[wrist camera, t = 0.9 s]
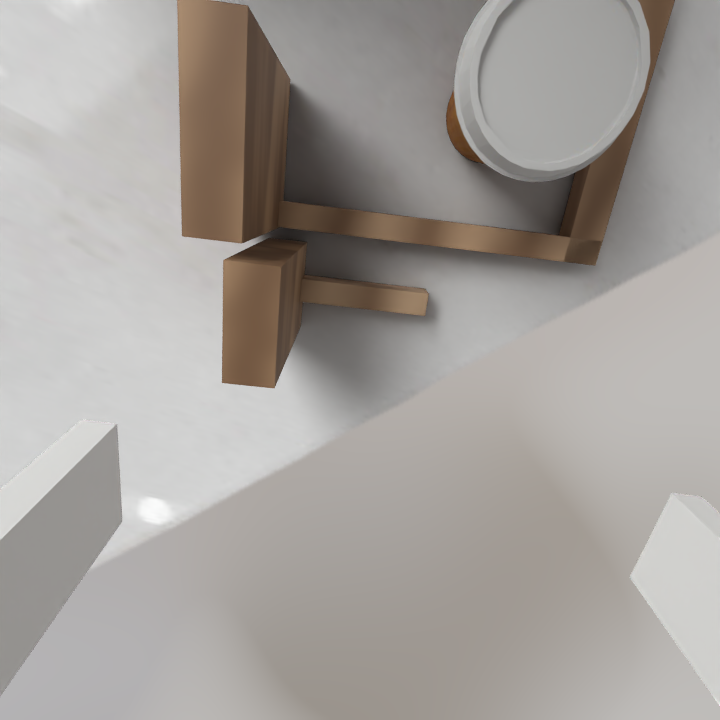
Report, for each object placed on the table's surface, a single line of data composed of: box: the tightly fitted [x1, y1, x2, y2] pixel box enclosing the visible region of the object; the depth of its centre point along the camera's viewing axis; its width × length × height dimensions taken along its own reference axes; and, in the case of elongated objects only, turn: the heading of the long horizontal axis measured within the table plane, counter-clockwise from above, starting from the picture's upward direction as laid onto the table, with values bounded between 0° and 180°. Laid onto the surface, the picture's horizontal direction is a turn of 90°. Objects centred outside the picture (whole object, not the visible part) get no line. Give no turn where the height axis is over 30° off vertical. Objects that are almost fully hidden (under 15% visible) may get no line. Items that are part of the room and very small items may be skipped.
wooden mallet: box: [222, 238, 429, 388], centre depth 31 cm, size 13×7×13 cm, turn 83°
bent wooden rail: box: [177, 0, 675, 266], centre depth 26 cm, size 27×19×13 cm
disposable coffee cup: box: [446, 0, 650, 182], centre depth 27 cm, size 10×10×12 cm
